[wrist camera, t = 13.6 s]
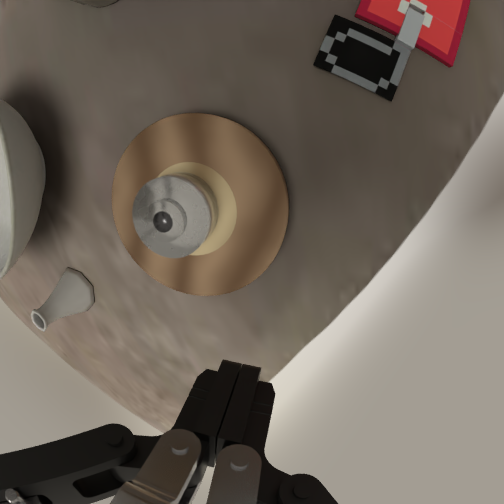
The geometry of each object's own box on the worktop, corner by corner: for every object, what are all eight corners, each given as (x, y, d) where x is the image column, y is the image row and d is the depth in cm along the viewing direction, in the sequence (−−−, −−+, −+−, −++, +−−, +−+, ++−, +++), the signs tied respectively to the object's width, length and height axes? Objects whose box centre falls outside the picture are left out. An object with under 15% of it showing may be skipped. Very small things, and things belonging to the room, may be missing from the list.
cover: (151, 242, 34) (130, 257, 29) (147, 171, 30) (123, 178, 26) (218, 249, 32) (204, 267, 28) (219, 172, 29) (203, 180, 25)
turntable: (126, 267, 39) (115, 276, 36) (127, 112, 31) (114, 112, 29) (274, 300, 36) (271, 312, 34) (302, 124, 28) (301, 123, 26)
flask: (92, 316, 44) (55, 352, 35) (60, 292, 44) (22, 322, 35) (99, 284, 41) (57, 319, 32) (65, 259, 41) (21, 288, 32)
